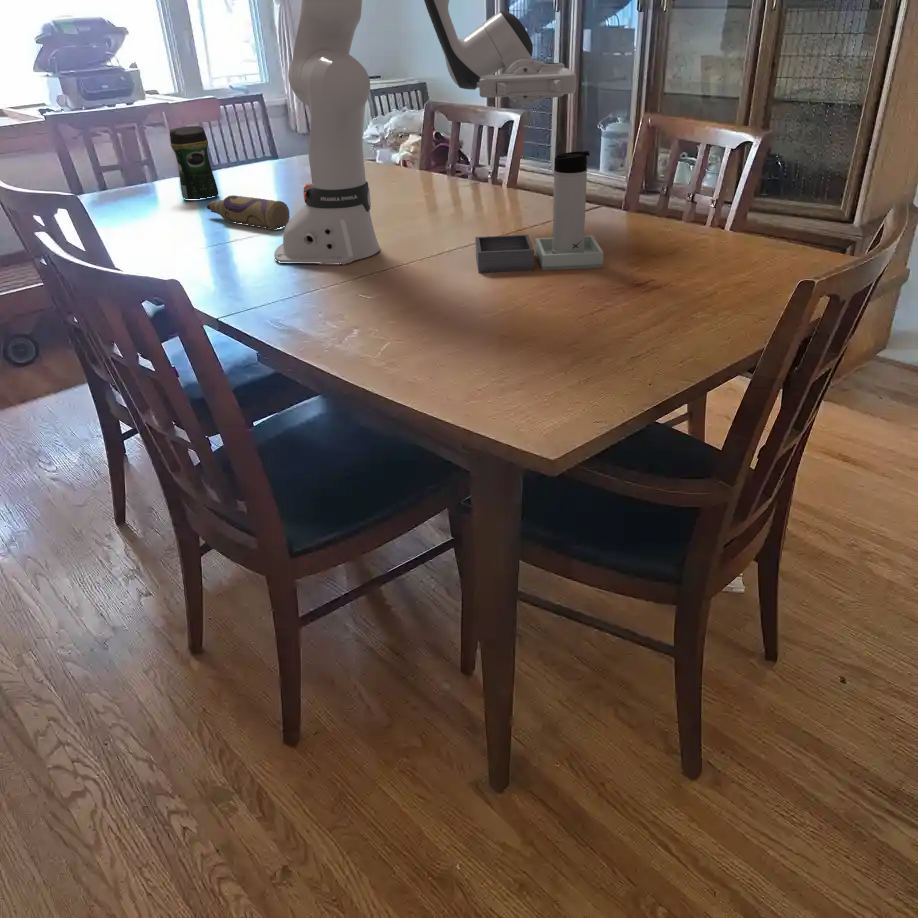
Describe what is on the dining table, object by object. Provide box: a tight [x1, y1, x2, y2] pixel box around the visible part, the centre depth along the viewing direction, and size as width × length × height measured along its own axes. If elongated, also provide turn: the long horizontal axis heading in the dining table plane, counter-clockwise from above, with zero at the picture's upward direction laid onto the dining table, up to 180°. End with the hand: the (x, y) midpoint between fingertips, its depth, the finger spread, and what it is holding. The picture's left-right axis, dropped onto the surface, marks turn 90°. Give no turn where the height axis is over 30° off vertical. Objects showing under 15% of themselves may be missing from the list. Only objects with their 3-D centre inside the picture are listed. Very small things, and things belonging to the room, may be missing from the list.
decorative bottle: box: [206, 194, 291, 230], centre depth 194 cm, size 26×8×7 cm, turn 55°
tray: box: [534, 235, 604, 272], centre depth 160 cm, size 12×12×3 cm
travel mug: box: [552, 150, 591, 254], centre depth 155 cm, size 6×7×20 cm
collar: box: [474, 234, 535, 274], centre depth 160 cm, size 11×11×4 cm
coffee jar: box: [169, 125, 220, 200], centre depth 216 cm, size 10×8×19 cm
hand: (530, 89), depth 160 cm, fingers open, 8 cm apart
